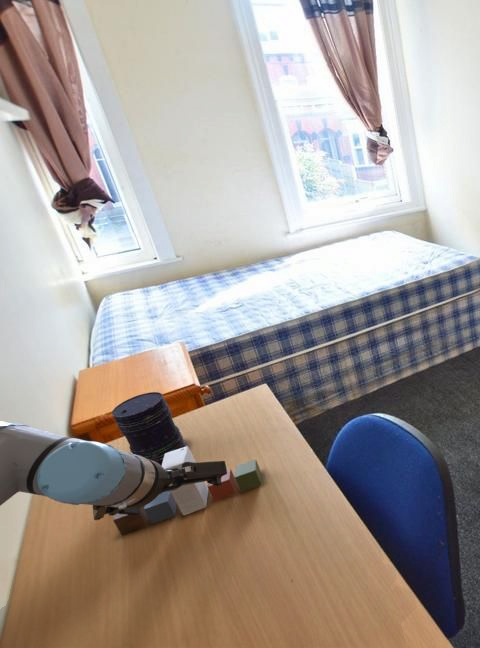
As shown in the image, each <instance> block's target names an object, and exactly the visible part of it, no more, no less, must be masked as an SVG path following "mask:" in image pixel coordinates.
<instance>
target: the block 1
mask: <svg viewBox="0 0 480 648" xmlns="http://www.w3.org/2000/svg"><path fill="white" fill-rule="evenodd" d="M144 508H145V506H143V507H140V513H141V514H138V515H127V514H115V515H113V516H114V517H113V519H112V521H113V523H114V525H115V526H116V528H117V530H118V532H119V533H120V535H121V536H123V535H126V534H129V533H131V532H135V531H137V530H140V529H143V528H146V527H147V524H148V520H149V518H148V516H147V514H146V512H145V511H144Z"/></svg>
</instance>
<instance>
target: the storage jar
mask: <svg viewBox="0 0 480 648" xmlns="http://www.w3.org/2000/svg"><path fill="white" fill-rule="evenodd" d="M111 415H112V417H113V418H114V421H115V423H116V426H117V428H118V429H119V432H120V434H121V435H122V436H124V437H125V439H126V442H127V443H128V444H129V451H130V453H131V454H135V455H138V456H142V457H144V458H146V459H149V460H152V461H155V462H157V463H158V464H160V465H161V466H162V462H163V459H164V455H165V453H168V452H171V451H174V450H177V449H180V448H183V447H187V444H186V442H185V441H184V437H183V434H182V432H181V431H180V428H179V427H178V426H177V425H176V424H175V422H174V420H173V417H172V411H171V409H170V407H169V405H168V403H167V402H166V399H165V398H164V395H163V393H161V392H158V391H151V392H145V393H142V394H138V395H135V396H132V397H130V398H128V399H126V400H124V401H122V402H121V403H119V404H118V405H117V406H115V407H114V408H113V409H112V411H111Z"/></svg>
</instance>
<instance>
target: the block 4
mask: <svg viewBox="0 0 480 648" xmlns="http://www.w3.org/2000/svg"><path fill="white" fill-rule="evenodd" d="M234 478H235V480H236V485H237V486H238V489H239V491H240V493H241V492H245V491H248V490H251V489H253V488H256V487H259V486H261V485H262V471H261V469H260V466H259V463H258V461H257V459H252V460H250V461H246V462H244V463H241V464H237V465H236V466H235V469H234Z"/></svg>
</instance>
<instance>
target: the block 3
mask: <svg viewBox="0 0 480 648" xmlns="http://www.w3.org/2000/svg"><path fill="white" fill-rule="evenodd" d="M226 469H227V474H226V475H224V476H222V478H221V482H222V485H219V486H216V485H213V484H209V483H207V487H208V492H209V494H210V496H211V498H212V500H213V502H217V501H220V500H222V499H225V498H228V497H231V496H234V495H236V494H237V493H236V492H237V482H236V480H235V474H234V473H233V471H232V469H231V467H229V468H226Z"/></svg>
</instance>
